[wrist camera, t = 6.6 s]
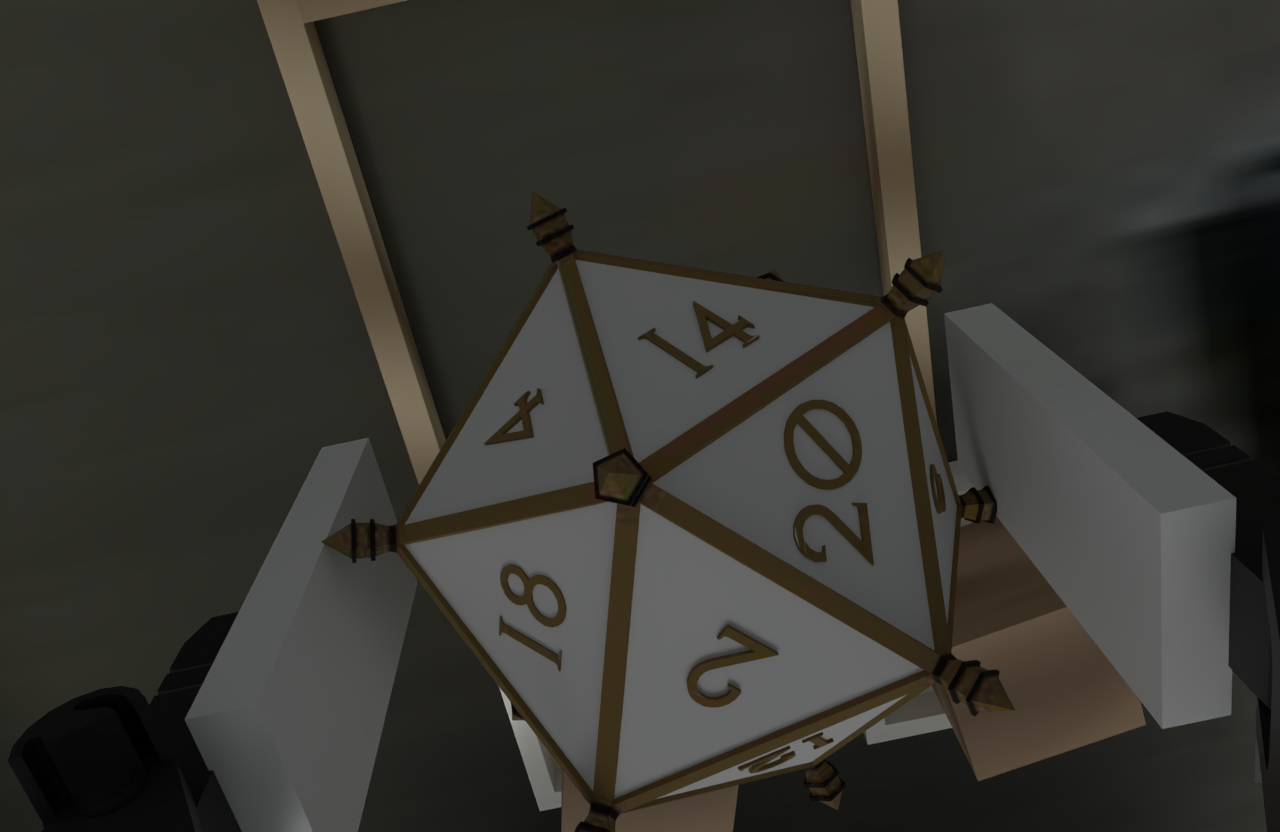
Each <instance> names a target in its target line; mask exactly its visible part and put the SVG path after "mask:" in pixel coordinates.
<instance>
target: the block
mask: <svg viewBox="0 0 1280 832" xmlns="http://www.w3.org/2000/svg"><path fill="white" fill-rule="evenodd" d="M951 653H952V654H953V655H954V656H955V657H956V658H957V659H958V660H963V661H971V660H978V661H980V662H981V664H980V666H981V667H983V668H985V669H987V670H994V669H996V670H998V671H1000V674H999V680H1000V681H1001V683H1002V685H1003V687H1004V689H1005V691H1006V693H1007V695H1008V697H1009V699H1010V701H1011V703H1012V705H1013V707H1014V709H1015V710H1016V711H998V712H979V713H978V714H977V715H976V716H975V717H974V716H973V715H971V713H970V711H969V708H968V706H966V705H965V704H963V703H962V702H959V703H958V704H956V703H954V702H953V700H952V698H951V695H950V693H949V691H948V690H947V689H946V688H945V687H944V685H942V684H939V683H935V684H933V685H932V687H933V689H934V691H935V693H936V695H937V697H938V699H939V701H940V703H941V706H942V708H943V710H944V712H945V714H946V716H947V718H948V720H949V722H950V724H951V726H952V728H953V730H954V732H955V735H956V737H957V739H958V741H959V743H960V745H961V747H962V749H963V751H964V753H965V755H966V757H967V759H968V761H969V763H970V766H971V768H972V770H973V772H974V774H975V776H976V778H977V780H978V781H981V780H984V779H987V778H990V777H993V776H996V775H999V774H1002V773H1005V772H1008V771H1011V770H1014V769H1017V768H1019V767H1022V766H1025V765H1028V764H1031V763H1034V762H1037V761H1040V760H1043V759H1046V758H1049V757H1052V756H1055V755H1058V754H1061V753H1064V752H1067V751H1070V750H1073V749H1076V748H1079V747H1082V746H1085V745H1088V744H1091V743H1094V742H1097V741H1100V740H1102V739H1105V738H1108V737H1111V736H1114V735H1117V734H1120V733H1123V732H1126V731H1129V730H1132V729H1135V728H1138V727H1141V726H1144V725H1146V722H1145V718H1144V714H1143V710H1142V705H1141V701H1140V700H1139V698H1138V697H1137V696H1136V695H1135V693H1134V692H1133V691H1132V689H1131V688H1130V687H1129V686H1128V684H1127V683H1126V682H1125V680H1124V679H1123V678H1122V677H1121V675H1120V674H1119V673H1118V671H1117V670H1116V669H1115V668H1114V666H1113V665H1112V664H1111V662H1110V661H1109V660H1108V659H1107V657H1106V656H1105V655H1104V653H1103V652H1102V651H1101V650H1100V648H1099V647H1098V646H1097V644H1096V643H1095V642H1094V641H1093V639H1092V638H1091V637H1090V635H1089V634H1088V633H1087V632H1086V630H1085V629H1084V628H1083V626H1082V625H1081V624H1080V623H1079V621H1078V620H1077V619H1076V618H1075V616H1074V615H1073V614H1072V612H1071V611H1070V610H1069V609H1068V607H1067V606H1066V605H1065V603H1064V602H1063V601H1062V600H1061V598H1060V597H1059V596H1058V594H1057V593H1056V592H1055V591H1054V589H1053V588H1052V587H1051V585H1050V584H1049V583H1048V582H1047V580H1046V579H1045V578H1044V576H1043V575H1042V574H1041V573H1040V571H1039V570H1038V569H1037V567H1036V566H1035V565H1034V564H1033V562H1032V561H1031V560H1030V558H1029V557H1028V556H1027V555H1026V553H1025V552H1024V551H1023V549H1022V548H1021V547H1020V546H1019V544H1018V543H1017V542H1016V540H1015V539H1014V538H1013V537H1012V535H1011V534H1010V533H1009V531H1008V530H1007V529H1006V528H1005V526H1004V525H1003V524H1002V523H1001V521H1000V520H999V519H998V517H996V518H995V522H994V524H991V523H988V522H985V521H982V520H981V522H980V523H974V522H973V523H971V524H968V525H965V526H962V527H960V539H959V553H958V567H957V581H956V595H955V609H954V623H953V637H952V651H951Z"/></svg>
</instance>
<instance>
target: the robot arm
mask: <svg viewBox="0 0 1280 832" xmlns="http://www.w3.org/2000/svg"><path fill="white" fill-rule="evenodd" d="M944 320H945V331H946V341H947V352H948V362H949V373H950V383H951V394H952V405H953V415H954V426H955V436H956V447H957V458H958V467H959V469H960V470H961V471H962V472H963V474H964V475H965V476H966V478H967V479H968V480H969V481H970V483H971V484H972V485H973V487H975V489H976V490H982V489H983V488H984V487H985V486H989V488H990V490H991V492H992V494H993V496H994V498H995V500H996V502H997V514H996V516H997V517H998V519H999V520H1000V521H1001V523H1002V524H1003V525H1004V526H1005V528H1006V529H1007V530H1008V531H1009V533H1010V534H1011V535H1012V537H1013V538H1014V539H1015V540H1016V542H1017V543H1018V544H1019V546H1020V547H1021V548H1022V549H1023V551H1024V552H1025V553H1026V555H1027V556H1028V557H1029V558H1030V560H1031V561H1032V562H1033V564H1034V565H1035V566H1036V567H1037V569H1038V570H1039V571H1040V573H1041V574H1042V575H1043V576H1044V578H1045V579H1046V580H1047V582H1048V583H1049V584H1050V585H1051V587H1052V588H1053V589H1054V591H1055V592H1056V593H1057V594H1058V596H1059V597H1060V598H1061V600H1062V601H1063V602H1064V603H1065V605H1066V606H1067V607H1068V609H1069V610H1070V611H1071V612H1072V614H1073V615H1074V616H1075V618H1076V619H1077V620H1078V621H1079V623H1080V624H1081V625H1082V626H1083V628H1084V629H1085V630H1086V632H1087V633H1088V634H1089V635H1090V637H1091V638H1092V639H1093V641H1094V642H1095V643H1096V644H1097V646H1098V647H1099V648H1100V650H1101V651H1102V652H1103V653H1104V655H1105V656H1106V657H1107V659H1108V660H1109V661H1110V662H1111V664H1112V665H1113V666H1114V668H1115V669H1116V670H1117V671H1118V673H1119V674H1120V675H1121V677H1122V678H1123V679H1124V680H1125V682H1126V683H1127V684H1128V686H1129V687H1130V688H1131V689H1132V691H1133V692H1134V693H1135V695H1136V696H1137V697H1138V698H1139V700H1140V701H1141V702H1142V704H1143V705H1144V706H1145V707H1146V709H1147V710H1148V711H1149V713H1150V714H1151V715H1152V716H1153V718H1154V719H1155V720H1156V722H1157V723H1158V724H1159V725H1160V727H1161V728H1162V729H1166V728H1170V727H1175V726H1180V725H1185V724H1190V723H1195V722H1200V721H1204V720H1209V719H1214V718H1219V717H1224V716H1229V715H1231V704H1232V670H1233V671H1234V672H1235V673H1236V674H1237V676H1238V677H1239V678H1240V679H1241V680H1242V681H1243V682H1244V683H1245V684H1246V685H1247V686H1248V687H1249V688H1250V689H1251V690H1252V691H1253V692H1254V694H1255V695H1256V696H1257V711H1256V739H1255V767H1254V783H1260V784H1262V787H1263V796H1264V805H1265V814H1266V823H1267V832H1280V478H1279V477H1278V476H1276V475H1275V474H1273V473H1272V472H1271V471H1269V470H1268V469H1266V468H1265V467H1264V466H1262V465H1261V464H1260V463H1258V462H1257V461H1255V460H1254V461H1251V459H1250V456H1248V455H1247V454H1246V453H1244V452H1243V451H1241V450H1240V449H1239V448H1237V447H1236V446H1235V445H1234V446H1230V442H1229V441H1228V440H1226V439H1225V438H1223V437H1222V436H1221V435H1219V434H1218V433H1217V432H1215V431H1214V430H1212V429H1211V428H1210V427H1208V426H1207V425H1205V424H1203V423H1200V422H1197V421H1194V420H1191V419H1188V418H1185V417H1182V416H1179V415H1176V414H1173V413H1170V412H1163V413H1158V414H1154V415H1149V416H1144V417H1140V418H1135V417H1134V416H1133V415H1132V414H1130V413H1129V412H1128V411H1127V410H1125V409H1124V408H1123V407H1122V406H1120V405H1119V404H1118V403H1117V402H1115V401H1114V400H1113V399H1111V398H1110V397H1109V396H1108V395H1106V394H1105V393H1104V392H1103V391H1101V390H1100V389H1099V388H1098V387H1096V386H1095V385H1094V384H1093V383H1091V382H1090V381H1089V380H1088V379H1086V378H1085V377H1084V376H1083V375H1081V374H1080V373H1079V372H1078V371H1076V370H1075V369H1074V368H1073V367H1071V366H1070V365H1069V364H1068V363H1066V362H1065V361H1064V360H1063V359H1061V358H1060V357H1059V356H1058V355H1056V354H1055V353H1054V352H1053V351H1051V350H1050V349H1049V348H1047V347H1046V346H1045V345H1044V344H1042V343H1041V342H1040V341H1039V340H1037V339H1036V338H1035V337H1034V336H1032V335H1031V334H1030V333H1029V332H1027V331H1026V330H1025V329H1024V328H1022V327H1021V326H1020V325H1019V324H1017V323H1016V322H1015V321H1014V320H1012V319H1011V318H1010V317H1009V316H1007V315H1006V314H1005V313H1004V312H1002V311H1001V310H1000V309H999V308H997V307H996V306H995V305H994V304H992V303H990V304H985V305H981V306H976V307H972V308H967V309H962V310H958V311H953V312H948V313H944ZM351 519H355V522H356V523H370V519H374V521H375V523H378V524H382V525H387V526H391V525H396V523H397V520H396V517H395V514H394V511H393V508H392V505H391V502H390V499H389V496H388V493H387V490H386V487H385V485H384V482H383V479H382V476H381V473H380V470H379V467H378V464H377V461H376V458H375V455H374V452H373V449H372V446H371V443H370V440H369V438H364V439H360V440H355V441H350V442H346V443H341V444H337V445H332V446H327V447H323V448H321V450H320V452H319V454H318V456H317V458H316V460H315V462H314V464H313V466H312V468H311V470H310V472H309V474H308V476H307V478H306V480H305V482H304V484H303V486H302V488H301V490H300V492H299V494H298V496H297V498H296V500H295V502H294V504H293V506H292V508H291V510H290V512H289V514H288V516H287V518H286V520H285V522H284V524H283V526H282V528H281V530H280V532H279V534H278V535H277V537H276V539H275V541H274V543H273V545H272V547H271V549H270V551H269V553H268V555H267V557H266V559H265V561H264V563H263V565H262V567H261V569H260V571H259V573H258V575H257V577H256V579H255V581H254V583H253V585H252V587H251V589H250V591H249V593H248V595H247V597H246V599H245V601H244V603H243V605H242V607H241V609H240V611H239V612H236V613H231V614H227V615H222V616H217V617H213V618H211V619H210V620H209V621H208V622H207V623H206V624H204V625H203V626H202V627H201V628H200V629H199V630H198V631H197V632H196V633H195V634H194V635H193V636H192V637H191V638H189V639H188V640H187V641H186V642H185V643H184V645H183V646H182V648H181V650H180V652H179V653H178V655H177V657H176V659H175V661H174V662H173V664H172V666H171V668H170V674H167V675H166V677H165V678H164V680H163V682H162V684H161V685H160V687H159V689H158V695H157V696H154V698H153V700H152V701H151V703H150V705H148V703H147V700H146V698H145V697H144V696H143V695H142V694H141V693H140V691H139V690H138V689H134V688H129V687H123V686H119V687H112V688H105V689H99V690H96V691H93V692H91V693H88V694H85V695H82V696H79V697H76V698H74V699H72V700H70V701H68V702H66V703H65V704H63V705H61V706H59V707H57V708H55V709H54V710H52V711H50V712H48V713H47V714H46V715H45V716H43V717H42V718H41V719H39V720H38V721H37V722H35V723H34V724H33V725H32V726H30V727H29V728H28V729H27V730H26V731H25V732H24V733H23V735H22V736H21V737H20V738H19V739H18V741H17V742H16V743H15V744H14V745H13V747H12V751H11V754H10V757H9V760H8V762H9V764H10V766H11V768H12V769H13V771H14V773H15V775H16V777H17V778H18V780H19V782H20V784H21V785H22V787H23V789H24V791H25V792H26V794H27V796H28V798H29V799H30V801H31V803H32V805H33V806H34V808H35V810H36V812H37V813H38V815H39V817H40V819H41V820H42V822H43V826H44V830H43V831H41V832H358V829H359V825H360V821H361V817H362V813H363V809H364V804H365V800H366V796H367V792H368V788H369V783H370V779H371V775H372V771H373V767H374V763H375V758H376V754H377V750H378V746H379V742H380V738H381V733H382V729H383V725H384V721H385V717H386V712H387V708H388V704H389V700H390V696H391V692H392V687H393V683H394V679H395V675H396V671H397V666H398V662H399V658H400V654H401V650H402V646H403V641H404V637H405V633H406V629H407V625H408V621H409V616H410V612H411V608H412V604H413V600H414V595H415V591H416V587H417V583H418V581H417V579H416V577H415V576H414V575H413V573H412V572H411V571H410V570H409V568H408V567H407V566H406V564H405V563H404V562H403V560H402V559H401V558H400V556H399V555H398V554H397V553H395V552H390V551H389V552H387V553H384V554H381V555H379V556H376V561H371V557H369V558H360V559H356V560H357V563H352V559H351V558H349V557H347V556H346V555H344V554H342V553H340V552H338V551H336V550H335V549H333V548H331V547H329V546H327V545H325V544H324V543H322V542H321V541H323V540H325V539H326V538H328V537H329V536H331V535H333V534H334V533H336V532H337V531H339V530H341V529H342V528H344V527H345V526H347V525H349V524H350V523H351Z"/></svg>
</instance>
